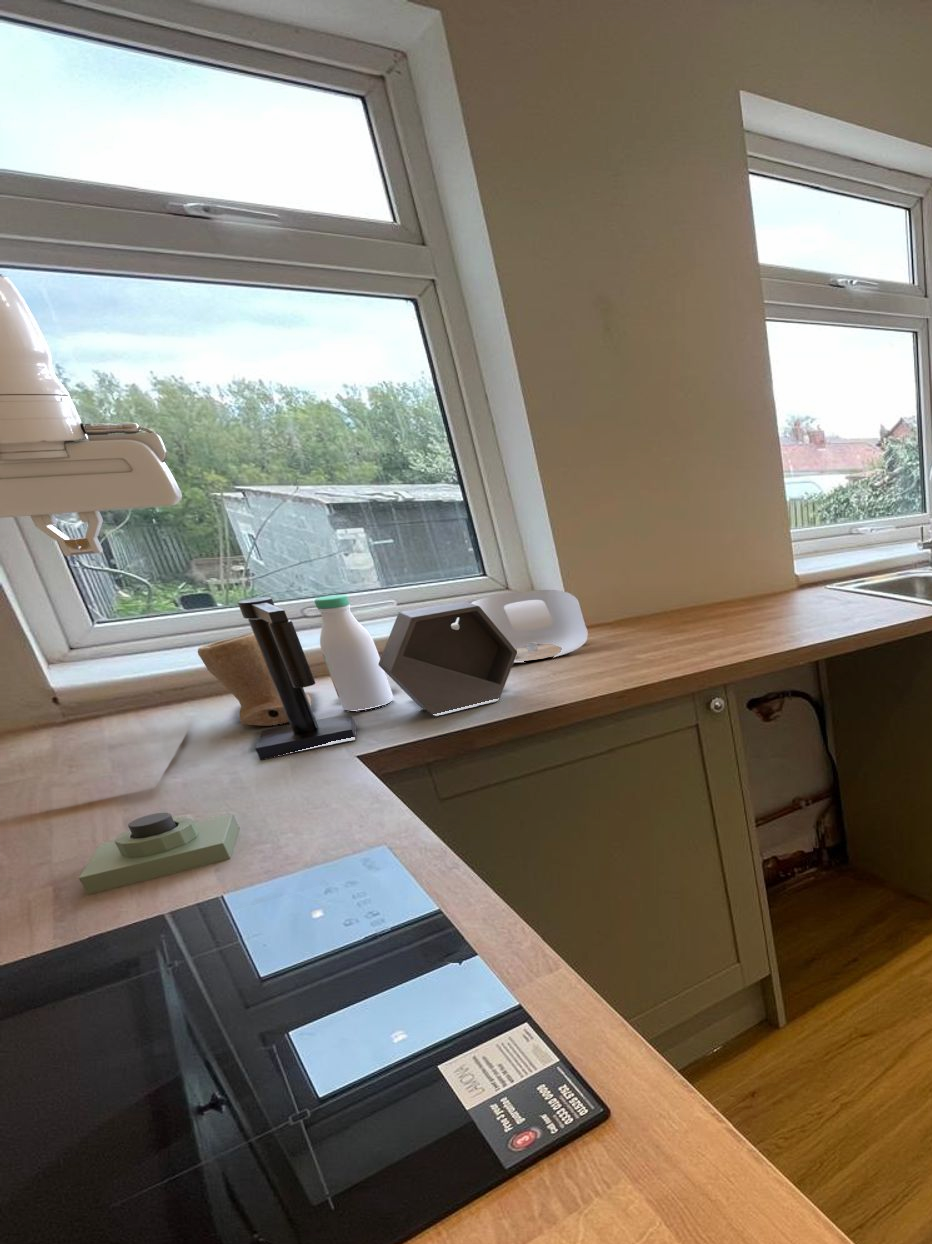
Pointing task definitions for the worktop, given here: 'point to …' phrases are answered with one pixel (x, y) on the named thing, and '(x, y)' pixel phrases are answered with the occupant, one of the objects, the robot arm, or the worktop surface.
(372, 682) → the milk bottle
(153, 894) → the worktop surface
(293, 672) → the spout
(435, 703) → the planter
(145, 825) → the button
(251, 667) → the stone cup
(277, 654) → the base
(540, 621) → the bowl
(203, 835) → the control block
